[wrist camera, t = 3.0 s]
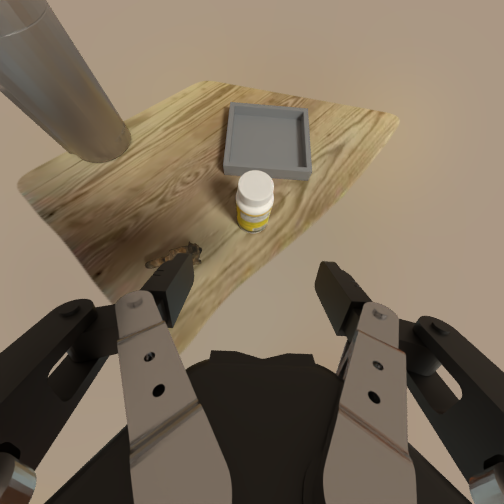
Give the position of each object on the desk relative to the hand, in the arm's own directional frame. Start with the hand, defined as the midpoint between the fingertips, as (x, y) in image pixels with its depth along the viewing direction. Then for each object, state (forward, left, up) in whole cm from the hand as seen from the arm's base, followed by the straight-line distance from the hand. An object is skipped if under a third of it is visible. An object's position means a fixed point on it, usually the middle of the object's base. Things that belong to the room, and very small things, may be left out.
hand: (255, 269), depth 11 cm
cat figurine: (-10, +3, -14) cm, 18 cm away
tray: (+2, +26, -14) cm, 29 cm away
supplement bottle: (0, +11, -14) cm, 18 cm away
